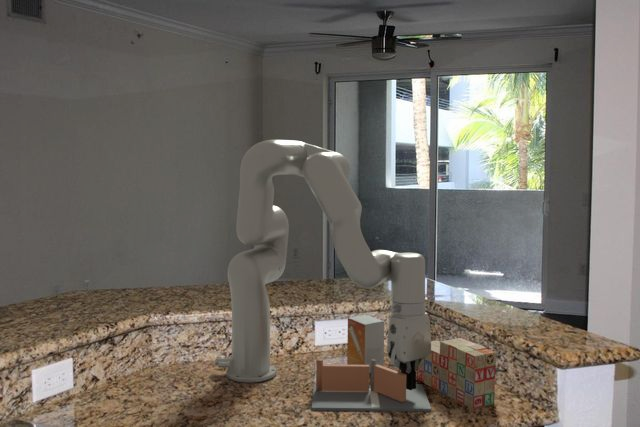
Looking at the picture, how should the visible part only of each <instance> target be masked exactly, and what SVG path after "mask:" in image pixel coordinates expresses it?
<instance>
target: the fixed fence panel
mask: <svg viewBox="0 0 640 427" xmlns="http://www.w3.org/2000/svg"><path fill="white" fill-rule="evenodd" d="M315 370H316V371H315V379H316V380H315V383H316V391H369V384H370V373H369V365H347V364H324V359H322V358H317V359H316V360H315Z"/></svg>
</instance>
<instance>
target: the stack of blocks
mask: <svg viewBox="0 0 640 427" xmlns="http://www.w3.org/2000/svg"><path fill="white" fill-rule="evenodd" d="M496 363H497V352H496V351H495V350H492V349H489V348H487V347H486V346H483V345H481V344H478V343H476V342H472V341H470V340H467V339H464V338H462V337H457V338H452V339H446V340H440V341H438V340H431V353H430V354H429V355H428V356H426V358H425V359H423V360H422V361H421V362H420V363H419V367H418V370H417V371H416V381H417V380H418V381H419V382H422V383H424V384H425V385H427V386H428V387H430V388H432V389H434V390H436V391H438V392H440V393H442V394H444V395H445V396H448V397H449V398H451V399H453V400H455V401H457V402H459V403H460V404H462V405H464V406H466V407H468V408H470V409H472V410H476V409H480V408H484V407H488V406H492V405H495V395H496V393H495V390H496V389H495V388H496V387H495V385H496V371H497V370H496V368H497V367H496V365H497V364H496Z"/></svg>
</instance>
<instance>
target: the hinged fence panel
mask: <svg viewBox="0 0 640 427" xmlns="http://www.w3.org/2000/svg"><path fill="white" fill-rule="evenodd" d="M370 384H371V391H376V392H378V393H381V394H383V395H386V396H388V397H391V398H393V399H396V400H398V401H401V402H404V401H406V374H404V373H401V371H399V370H398V371H397V370H394V369H392V368H390V367H387V366H385V365H384V366H381V365H378V364H377V365H376V360H374V359H372V360H371V373H370Z"/></svg>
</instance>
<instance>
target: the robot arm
mask: <svg viewBox="0 0 640 427" xmlns="http://www.w3.org/2000/svg"><path fill="white" fill-rule="evenodd" d="M239 172H240V173H239V192H238V202H237V203H238V204H237V205H238V206H237V214H236V227H235V228H236V229H235V231H236V236H237V238H238V240H239V241H240V242H241V243H242V244H243V245H246V246H253V248H251V249H248V250H244V251H243V250H242V251H241V252H239V253H237V254H236V255H235V256H233V257H232V258H231V260H230V261H229V264H228V266H227V280H228V285H229V290H230V299H231V300H230V301H231V345H232V346H231V352H232V355H231V356H228V357H225V358H224V357H215V358H214V359H215V361H214V363H215V366H218V368H227V369H226V372H225V373H226V374H225V376H226V377H227V378H228V379H229V380H232V381H235V382H239V383H259V382H260V383H261V382H264V381H268V380H271V379H272V378H274V377H275V376H276V375H277V368H276V367H275V366H274V365H273V364H271V312H270V311H271V310H270V309H271V305H270V298H269V294H268V291H267V287H266V285H267V284H269V283H273V282H274V281H277V280H278V279H280V277H281V276H282V275H283V274H284V272H285V269H286V265H287V255H288V254H287V253H288V245H289V244H288V242H289V234H290V232H289V230H290V226H289V219H288V216H287V215H286V213H285V210H283V209H282V208H281V207H279V206H277V205H274V198H275V186H274V183H273V177H274V176H283V175H286V176H287V175H295V176H297V177H298V176H299V177H302V178H304V180H305V182H306V184H307V185H308V187H309V188H310V191H311V192H312V194H313V196H314V198H315V199H316V201H317V203H318V204H319V207H320V208H321V210H322V212H323V214H324V216H325V217H326V219H327V221H328V223H329V228H330V229H329V230H330V235H331V238H332V239H331V240H332V243H333V247H334V250H335V253H336V255H337V258H338V260H339V262H340V263H341V266H342V267H343V269H344V270H345V273H346V274H347V276H348V277H349V278H350V280H351V281H352V282H353V283H354V284H355V285H356V286H358V287H360V288H361V289H373V288H375V287H377V286H379V285H381V284H385V283H387V282H390V284H391V287H390V288H391V290H390V291H391V292H390V293H391V296H390V297H391V303H390V304H391V306H390V307H389V311H390V313H391V314H390V316H389V321H388V330H387V339H386V341H387V348H386V349H387V350H386V351H387V357H388V358H389V359H390V360H389V366H390V367H393V368H398V371H399V372H401V373H404V374H406V389H408V390H413V389H416V384H417V370H418V367H419V363H420V362H421V361H422V360H423V359H425V358H426V356H428V355H429V354H430V353H431V341H432V337H431V335H432V334H431V326H430V320H429V319H430V318H429V315H428V313H427V312H426V259H425V256H423V254H422V253H421V254H420V253H417V252H396V251H391V250H387V249H386V250H385V249H375V250H372V251H371V249H370V247H369V245H368V244H367V242H366V239H365V238H364V235H363V232H362V229H361V216H362V210H363V207H362V206H363V205H362V204H361V201H360V200H359V198H358V196H357V194H356V193H355V191H354V190H353V187H352V186H351V184H350V182H349V181H348V180H349V178H350V174H351V165H350V162H349V161H348V159H347V158H346V157H345V156H344V155H343V154H342V153H339V152H337V151H333V150H329V149H327V148H324V147H320V146H317V145H313V144H310V143H306V142H303V141H300V140H294V139H293V140H292V139H278V138H277V139H275V138H274V139H267V140H263V141H259V142H257V143H255V144H254V145H253V146H250V148H249V149H247V150H246V151H245V153H244V155H243V157H242V159H241V162H240V170H239Z"/></svg>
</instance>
